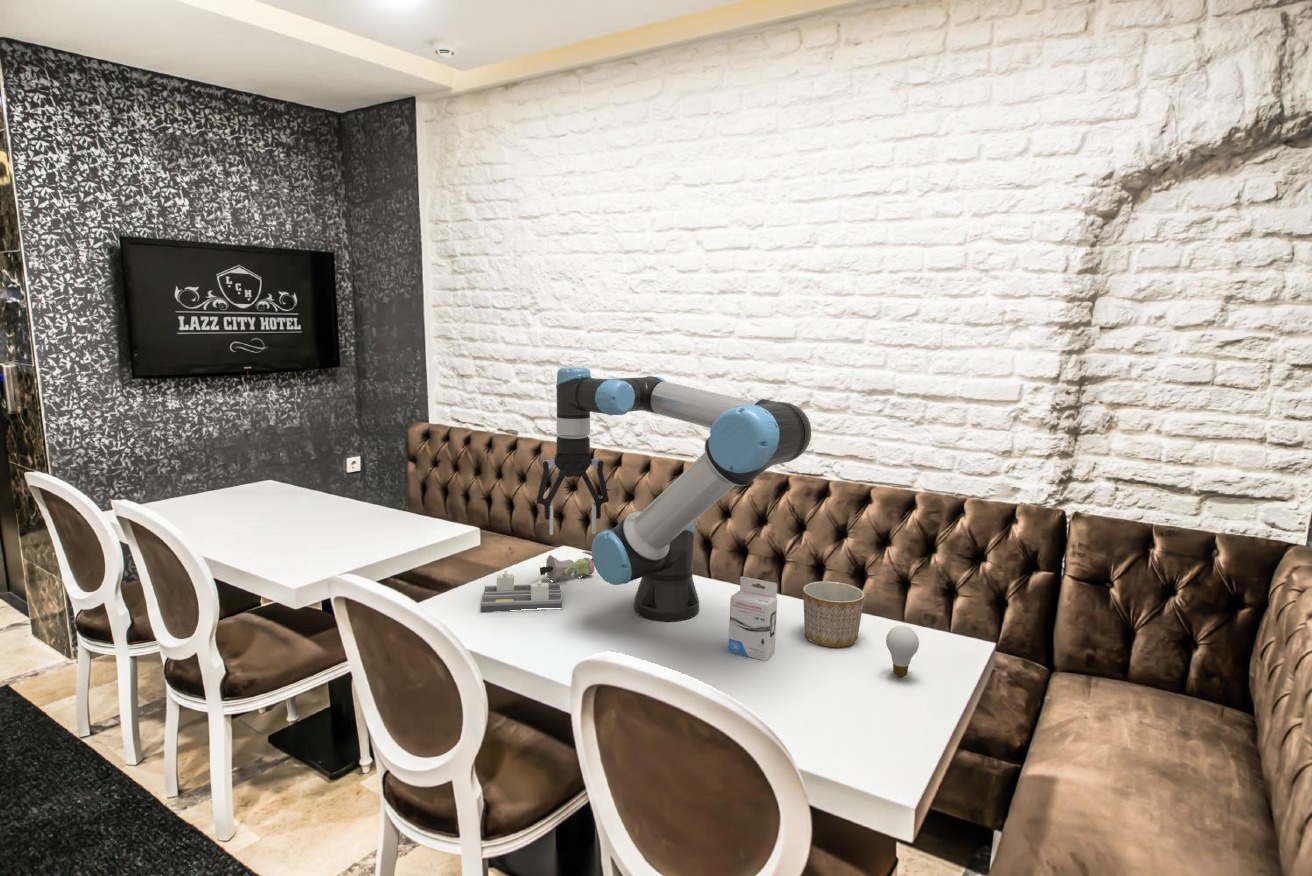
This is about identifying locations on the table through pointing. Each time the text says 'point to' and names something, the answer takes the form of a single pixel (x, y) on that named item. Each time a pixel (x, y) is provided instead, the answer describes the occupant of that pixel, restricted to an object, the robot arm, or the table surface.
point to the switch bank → (519, 599)
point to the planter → (832, 613)
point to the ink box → (753, 619)
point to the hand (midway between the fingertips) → (572, 532)
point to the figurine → (567, 567)
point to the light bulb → (902, 648)
